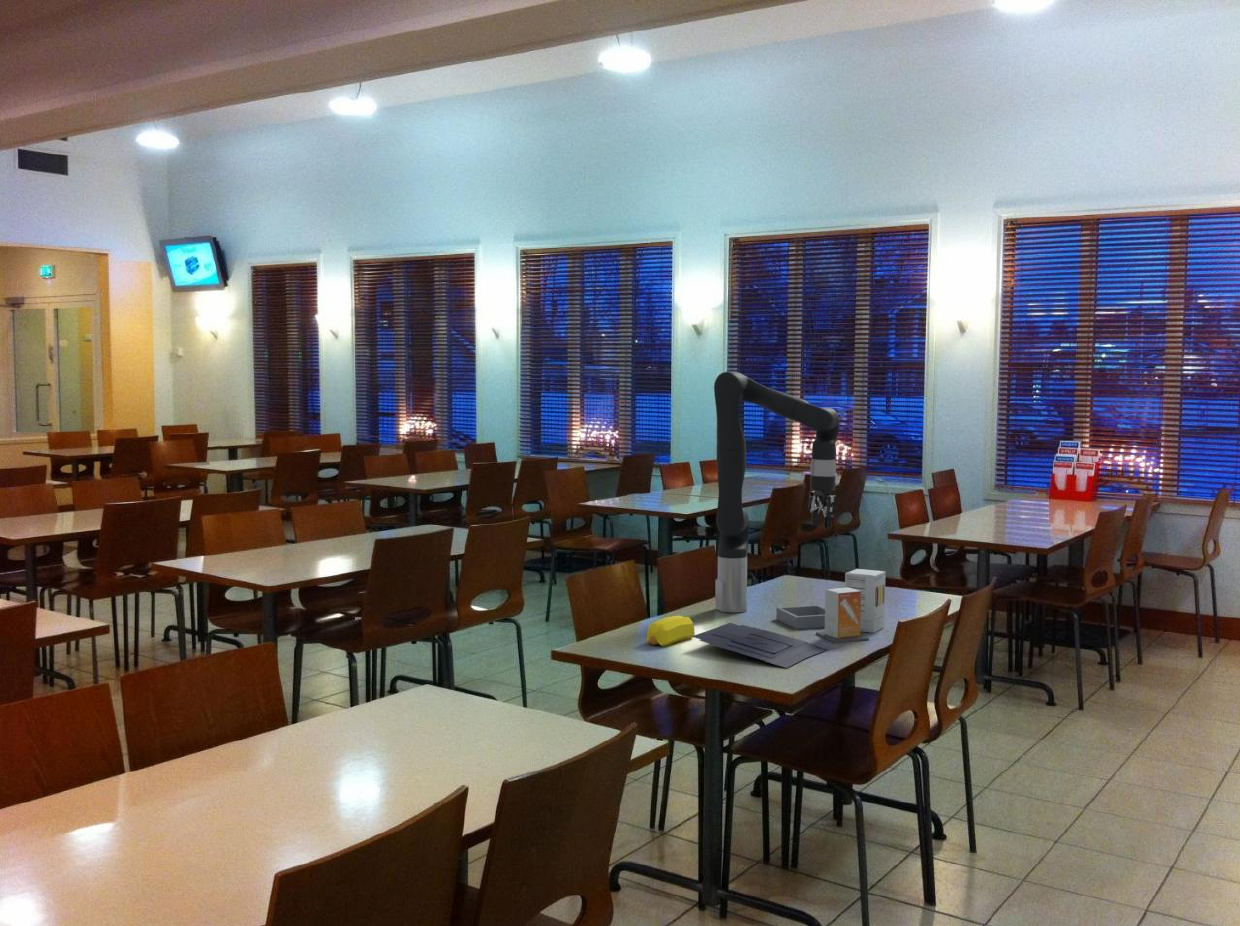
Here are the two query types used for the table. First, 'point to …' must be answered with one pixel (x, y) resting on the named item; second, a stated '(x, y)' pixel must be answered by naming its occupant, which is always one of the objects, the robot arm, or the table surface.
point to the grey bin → (802, 616)
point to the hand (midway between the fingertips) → (821, 527)
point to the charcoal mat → (845, 639)
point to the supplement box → (869, 597)
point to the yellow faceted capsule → (670, 630)
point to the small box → (842, 612)
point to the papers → (760, 644)
